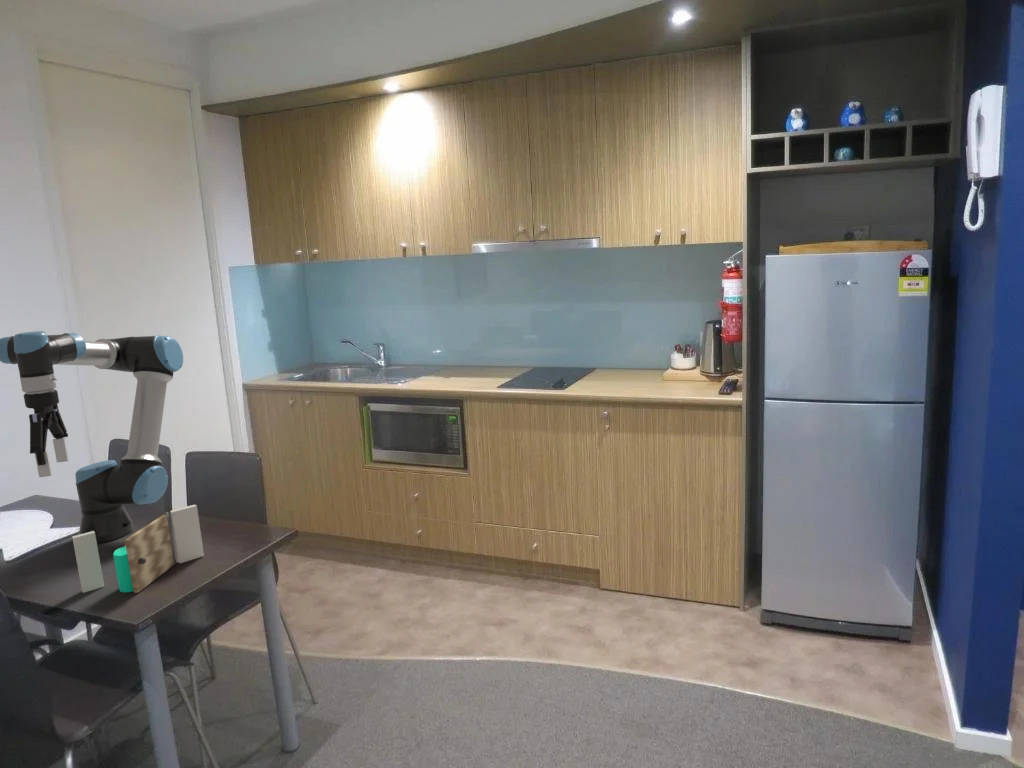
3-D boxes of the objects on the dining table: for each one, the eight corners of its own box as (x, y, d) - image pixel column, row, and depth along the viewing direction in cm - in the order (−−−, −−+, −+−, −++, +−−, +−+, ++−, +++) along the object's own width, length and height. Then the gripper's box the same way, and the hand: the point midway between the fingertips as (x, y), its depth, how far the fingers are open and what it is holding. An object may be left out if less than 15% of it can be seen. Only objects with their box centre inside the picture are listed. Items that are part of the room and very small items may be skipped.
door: (170, 564, 205) (162, 515, 202) (179, 564, 205) (172, 515, 202) (133, 592, 189) (124, 539, 186) (143, 592, 189) (134, 539, 186)
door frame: (82, 590, 193) (72, 536, 190) (202, 554, 212) (195, 504, 209) (83, 592, 191) (73, 538, 188) (204, 555, 211) (196, 505, 208)
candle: (126, 582, 196) (119, 540, 194) (148, 581, 196) (141, 539, 194) (114, 592, 190) (107, 550, 188) (137, 591, 190) (130, 549, 188)
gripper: (39, 398, 179) (54, 480, 183) (71, 381, 203) (84, 454, 207) (4, 402, 177) (20, 484, 181) (40, 384, 201) (54, 457, 205)
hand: (54, 468), depth 194 cm, fingers open, 13 cm apart
